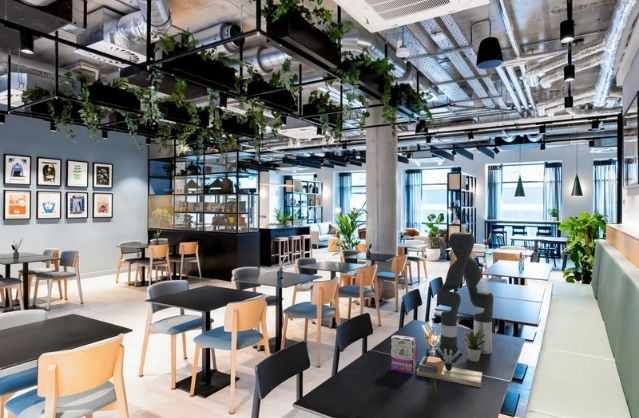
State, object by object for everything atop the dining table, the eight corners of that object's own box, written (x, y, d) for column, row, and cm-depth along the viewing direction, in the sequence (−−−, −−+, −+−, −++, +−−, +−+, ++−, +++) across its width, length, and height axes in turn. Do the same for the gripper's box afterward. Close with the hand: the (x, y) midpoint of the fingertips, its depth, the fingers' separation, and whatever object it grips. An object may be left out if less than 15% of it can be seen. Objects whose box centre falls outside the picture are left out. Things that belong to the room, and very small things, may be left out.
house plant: (484, 368, 196) (484, 335, 195) (456, 361, 204) (456, 330, 204) (491, 359, 207) (492, 328, 207) (464, 353, 215) (465, 323, 215)
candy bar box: (415, 371, 192) (416, 337, 192) (413, 374, 188) (413, 340, 188) (393, 366, 197) (393, 333, 197) (390, 370, 193) (390, 336, 193)
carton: (428, 365, 194) (428, 356, 194) (443, 367, 191) (443, 358, 191) (426, 370, 188) (426, 361, 188) (441, 373, 185) (441, 363, 185)
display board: (421, 365, 198) (421, 355, 198) (482, 376, 186) (482, 366, 186) (416, 374, 188) (416, 364, 188) (480, 387, 175) (480, 375, 175)
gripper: (464, 333, 187) (464, 369, 187) (435, 329, 193) (435, 365, 193) (462, 338, 181) (462, 376, 181) (433, 334, 186) (432, 370, 186)
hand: (448, 370), depth 187 cm, fingers closed
